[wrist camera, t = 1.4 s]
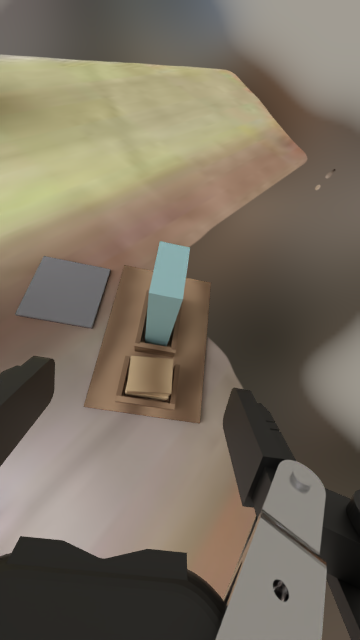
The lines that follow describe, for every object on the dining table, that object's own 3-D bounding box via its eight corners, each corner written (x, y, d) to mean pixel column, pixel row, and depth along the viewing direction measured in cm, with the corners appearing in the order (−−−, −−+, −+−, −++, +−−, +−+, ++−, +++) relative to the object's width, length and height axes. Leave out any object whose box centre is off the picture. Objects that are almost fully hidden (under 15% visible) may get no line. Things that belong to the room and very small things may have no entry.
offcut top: (127, 393, 26) (126, 390, 24) (131, 360, 28) (130, 355, 26) (169, 395, 27) (171, 393, 25) (170, 363, 29) (173, 359, 27)
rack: (85, 406, 28) (79, 404, 25) (124, 268, 37) (123, 255, 34) (198, 423, 29) (204, 422, 26) (209, 285, 38) (214, 274, 36)
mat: (16, 315, 31) (15, 314, 31) (44, 257, 36) (43, 256, 35) (92, 328, 32) (91, 327, 32) (110, 270, 36) (110, 269, 36)
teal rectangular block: (144, 342, 32) (148, 292, 20) (152, 304, 34) (159, 241, 23) (166, 346, 32) (182, 299, 20) (172, 308, 35) (189, 247, 23)
